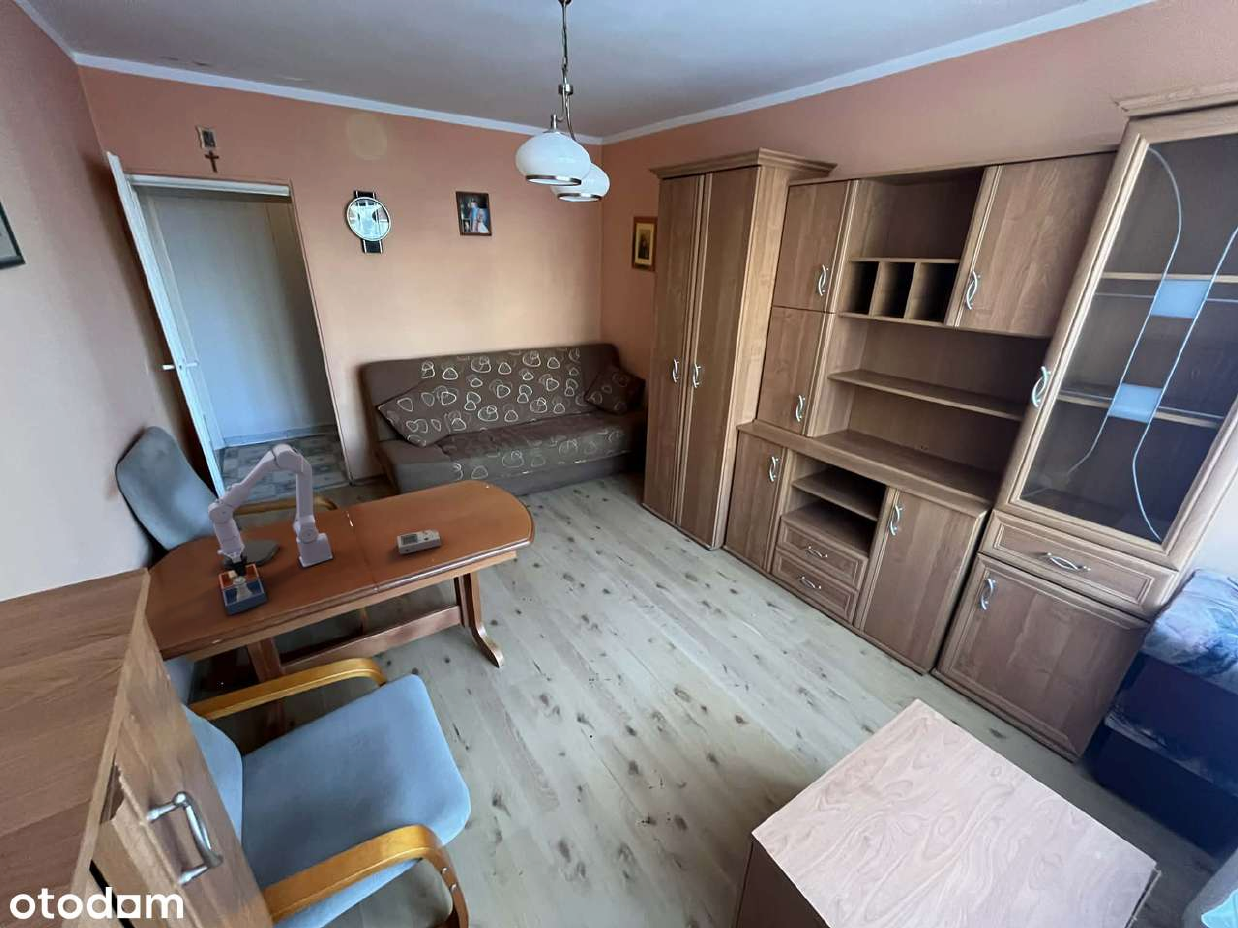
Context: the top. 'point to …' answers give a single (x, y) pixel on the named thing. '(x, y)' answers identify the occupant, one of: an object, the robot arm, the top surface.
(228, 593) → the blue bin
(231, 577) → the beech block
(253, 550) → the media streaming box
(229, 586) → the terracotta bin
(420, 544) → the handheld gaming device
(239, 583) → the rook chess piece
